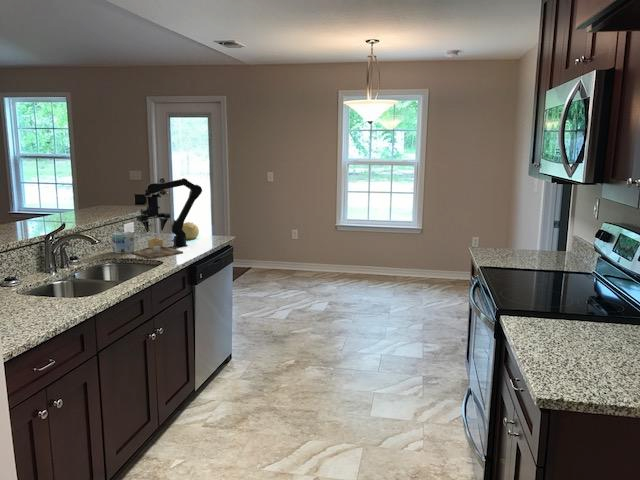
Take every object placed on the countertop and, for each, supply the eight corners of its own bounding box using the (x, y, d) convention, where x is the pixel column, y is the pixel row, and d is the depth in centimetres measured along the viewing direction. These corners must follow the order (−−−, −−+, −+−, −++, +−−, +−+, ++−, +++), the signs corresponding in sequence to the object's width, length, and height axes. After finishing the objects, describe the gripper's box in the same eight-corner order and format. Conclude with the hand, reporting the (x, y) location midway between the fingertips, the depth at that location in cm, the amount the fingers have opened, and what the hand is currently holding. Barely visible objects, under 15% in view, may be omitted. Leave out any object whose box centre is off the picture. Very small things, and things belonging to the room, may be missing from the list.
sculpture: (176, 239, 328) (176, 223, 326) (186, 236, 339) (186, 220, 337) (192, 240, 325) (191, 223, 323) (202, 237, 336) (201, 221, 334)
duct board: (164, 248, 300) (164, 246, 300) (183, 253, 287) (183, 251, 287) (132, 253, 286) (132, 251, 286) (150, 258, 273) (150, 257, 273)
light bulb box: (116, 253, 285) (115, 234, 283) (112, 251, 290) (111, 233, 288) (135, 251, 292) (134, 232, 290) (131, 249, 297) (130, 231, 295)
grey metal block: (155, 252, 285) (154, 246, 284) (161, 252, 285) (160, 246, 284) (153, 253, 281) (152, 247, 281) (159, 253, 281) (159, 247, 281)
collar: (157, 246, 306) (157, 238, 305) (162, 247, 302) (162, 239, 301) (148, 247, 302) (147, 239, 301) (153, 249, 298) (153, 240, 297)
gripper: (160, 202, 309) (162, 227, 312) (131, 205, 296) (133, 231, 299) (170, 203, 302) (171, 229, 305) (140, 206, 288) (142, 234, 291)
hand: (154, 231), depth 300 cm, fingers open, 9 cm apart
